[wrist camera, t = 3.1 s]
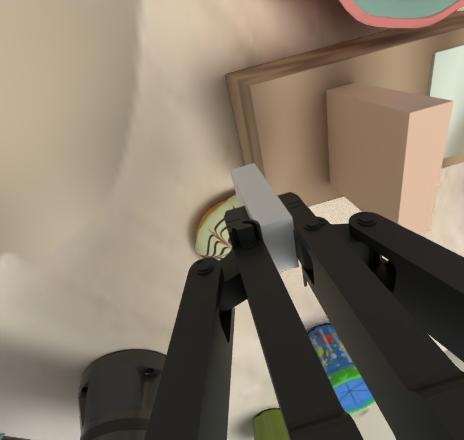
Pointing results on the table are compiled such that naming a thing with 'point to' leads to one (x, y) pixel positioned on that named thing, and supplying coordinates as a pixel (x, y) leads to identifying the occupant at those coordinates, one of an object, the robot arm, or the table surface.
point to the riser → (332, 76)
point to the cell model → (400, 12)
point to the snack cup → (340, 369)
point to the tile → (387, 150)
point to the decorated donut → (215, 231)
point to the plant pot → (270, 426)
